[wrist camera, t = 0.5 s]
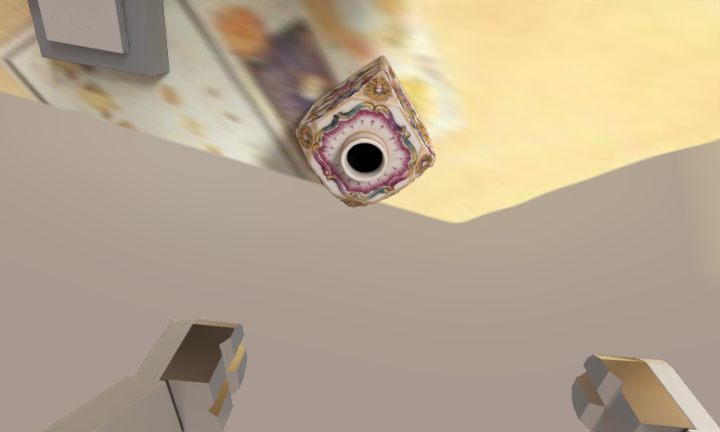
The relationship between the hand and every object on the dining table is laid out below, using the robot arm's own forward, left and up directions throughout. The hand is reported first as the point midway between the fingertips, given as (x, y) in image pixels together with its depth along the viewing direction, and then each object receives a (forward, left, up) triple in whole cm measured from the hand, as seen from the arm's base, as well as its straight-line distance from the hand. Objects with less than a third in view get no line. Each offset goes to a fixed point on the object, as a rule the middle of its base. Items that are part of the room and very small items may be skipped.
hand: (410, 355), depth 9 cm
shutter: (-2, -37, -41) cm, 55 cm away
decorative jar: (+6, -2, -46) cm, 46 cm away
